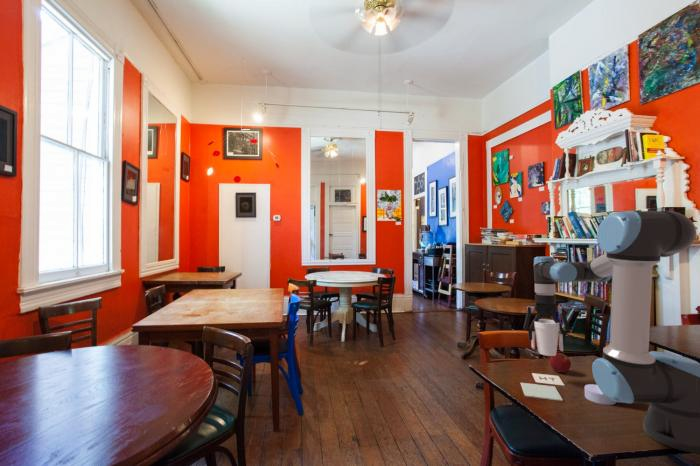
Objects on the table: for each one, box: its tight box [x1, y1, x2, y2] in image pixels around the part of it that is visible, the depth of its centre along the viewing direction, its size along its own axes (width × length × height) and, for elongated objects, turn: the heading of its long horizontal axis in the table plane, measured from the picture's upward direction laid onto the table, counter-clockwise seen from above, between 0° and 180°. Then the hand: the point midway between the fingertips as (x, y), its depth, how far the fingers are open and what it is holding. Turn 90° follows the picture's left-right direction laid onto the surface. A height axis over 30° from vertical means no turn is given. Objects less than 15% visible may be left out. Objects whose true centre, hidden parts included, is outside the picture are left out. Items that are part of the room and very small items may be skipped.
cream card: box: [531, 372, 565, 387], centre depth 139 cm, size 10×10×1 cm
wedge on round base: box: [584, 383, 617, 406], centre depth 121 cm, size 9×7×13 cm
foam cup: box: [532, 318, 561, 357], centre depth 139 cm, size 10×9×13 cm
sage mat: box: [520, 382, 564, 402], centre depth 128 cm, size 12×12×1 cm
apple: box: [549, 352, 572, 374], centre depth 147 cm, size 8×8×8 cm
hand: (547, 349), depth 139 cm, fingers closed on foam cup, 9 cm apart
